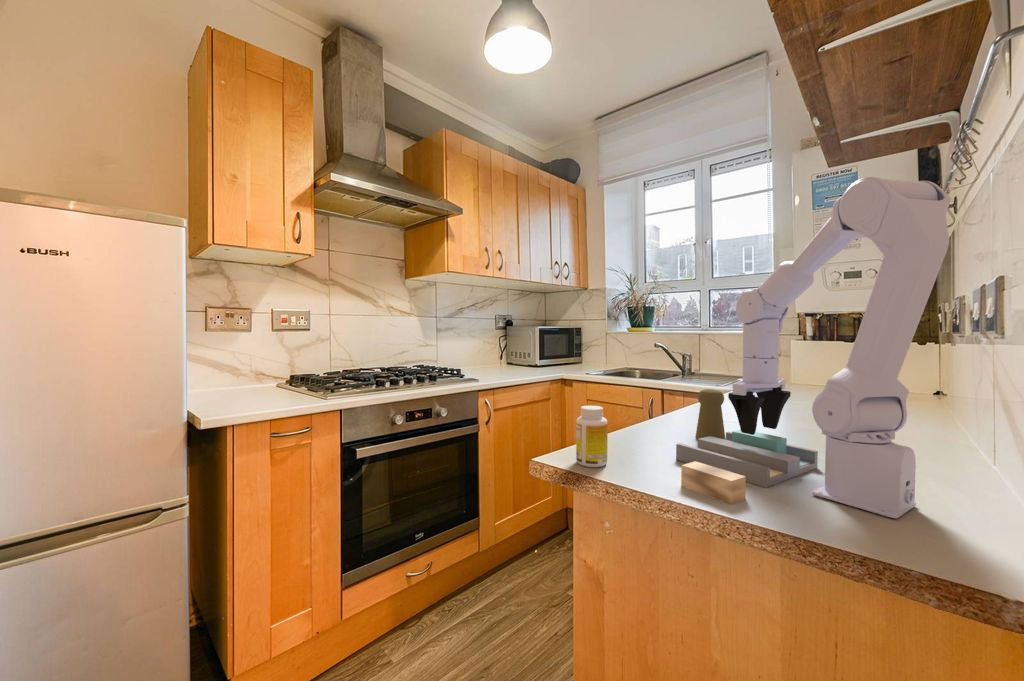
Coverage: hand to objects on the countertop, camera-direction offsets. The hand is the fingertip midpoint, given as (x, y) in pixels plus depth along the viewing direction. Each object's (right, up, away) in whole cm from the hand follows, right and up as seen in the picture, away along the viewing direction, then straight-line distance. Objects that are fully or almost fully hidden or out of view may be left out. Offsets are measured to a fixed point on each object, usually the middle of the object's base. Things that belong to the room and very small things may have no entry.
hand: (759, 430), depth 78 cm
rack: (-4, -6, -2) cm, 7 cm away
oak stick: (-16, -6, -15) cm, 23 cm away
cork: (-3, -5, +14) cm, 15 cm away
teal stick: (0, -4, 0) cm, 4 cm away
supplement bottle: (-32, -6, -2) cm, 32 cm away
